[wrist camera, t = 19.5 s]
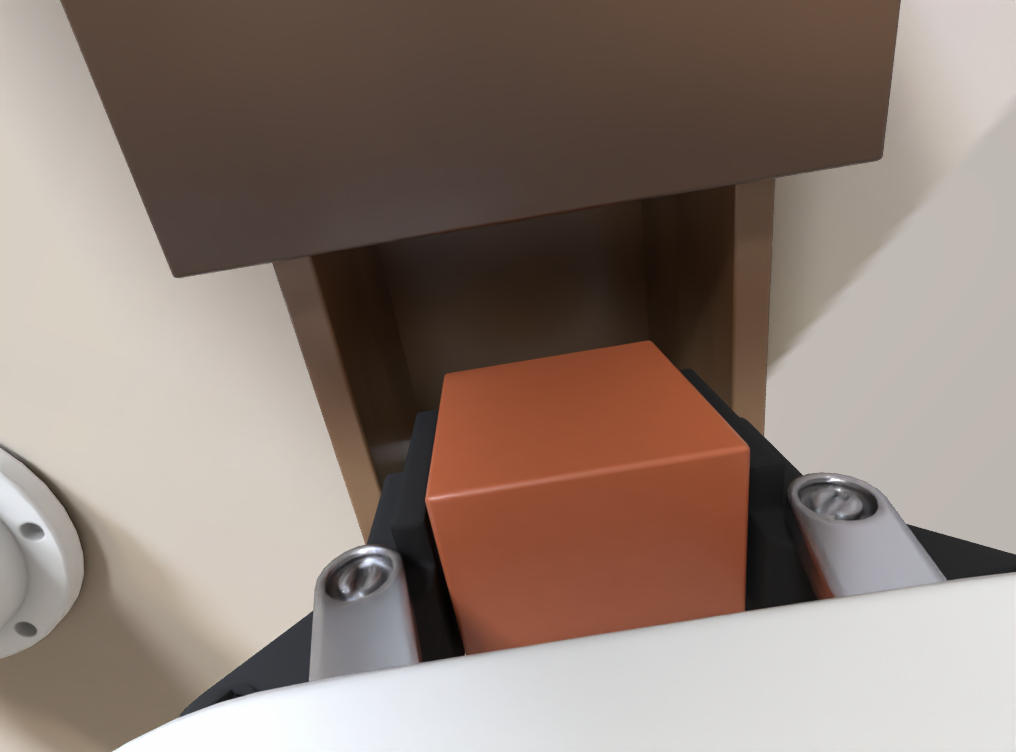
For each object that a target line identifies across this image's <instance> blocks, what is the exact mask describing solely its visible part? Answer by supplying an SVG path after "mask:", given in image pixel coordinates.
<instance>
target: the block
mask: <svg viewBox="0 0 1016 752" xmlns="http://www.w3.org/2000/svg"><path fill="white" fill-rule="evenodd" d="M749 470H750V448H749V446H748V444H747V443H746V442H745V441H744V440H743V439H742V438H741V437H740V436H739V435H738V434H737V433H736V431H735V430H734V429H733V428H732V427H731V426H730V425H729V424H728V423H727V422H726V421H725V420H724V418H723V417H722V416H721V415H720V414H719V413H718V412H717V411H716V410H715V409H714V408H713V407H712V406H711V404H710V403H709V402H708V401H707V400H706V399H705V398H704V397H703V396H702V395H701V394H700V393H699V392H698V390H697V389H696V388H695V387H694V386H693V385H692V384H691V383H690V382H689V381H688V380H687V379H686V378H685V376H684V375H683V374H682V373H681V372H680V371H679V370H678V369H677V368H676V367H675V366H674V365H673V364H672V362H671V361H670V360H669V359H668V358H667V357H666V356H665V355H664V354H663V353H662V352H661V351H660V350H659V348H658V347H657V346H656V345H655V344H654V343H653V342H652V341H649V340H648V341H642V342H636V343H630V344H624V345H618V346H612V347H605V348H599V349H593V350H587V351H581V352H575V353H569V354H563V355H557V356H551V357H544V358H538V359H532V360H526V361H520V362H514V363H508V364H502V365H496V366H490V367H483V368H477V369H471V370H465V371H459V372H453V373H447V374H446V375H445V376H444V381H443V387H442V394H441V400H440V407H439V413H438V420H437V426H436V433H435V439H434V446H433V452H432V459H431V465H430V471H429V478H428V484H427V491H426V497H425V503H426V507H427V511H428V514H429V518H430V522H431V526H432V529H433V533H434V537H435V541H436V545H437V548H438V552H439V556H440V560H441V564H442V567H443V571H444V575H445V579H446V582H447V586H448V590H449V594H450V598H451V601H452V605H453V609H454V613H455V617H456V620H457V624H458V628H459V632H460V635H461V639H462V643H463V647H464V651H465V654H466V655H472V654H478V653H484V652H490V651H497V650H503V649H509V648H515V647H521V646H528V645H534V644H540V643H546V642H553V641H559V640H565V639H572V638H578V637H584V636H591V635H597V634H603V633H610V632H616V631H622V630H629V629H635V628H641V627H648V626H654V625H661V624H667V623H674V622H680V621H686V620H693V619H699V618H706V617H712V616H718V615H725V614H731V613H738V612H744V611H745V598H746V566H747V534H748V502H749Z"/></svg>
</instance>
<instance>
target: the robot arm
mask: <svg viewBox="0 0 1016 752" xmlns="http://www.w3.org/2000/svg"><path fill="white" fill-rule="evenodd" d="M679 371H680V372H681V373H682V374H683V375H684V376H685V378H686V379H687V380H688V381H689V382H690V383H691V384H692V385H693V386H694V387H695V388H696V389H697V390H698V392H699V393H700V394H701V395H702V396H703V397H704V398H705V399H706V400H707V401H708V402H709V403H710V404H711V406H712V407H713V408H714V409H715V410H716V411H717V412H718V413H719V414H720V415H721V416H722V417H723V418H724V420H725V421H726V422H727V423H728V424H729V425H730V426H731V427H732V428H733V429H734V430H735V431H736V433H737V434H738V435H739V436H740V437H741V438H742V439H743V440H744V441H745V442H746V443H747V444H748V446H749V448H750V470H749V502H748V534H747V566H746V598H745V611H744V612H738V613H731V614H725V615H718V616H712V617H706V618H699V619H693V620H686V621H680V622H674V623H667V624H661V625H654V626H648V627H641V628H635V629H629V630H622V631H616V632H610V633H603V634H597V635H591V636H584V637H578V638H572V639H565V640H559V641H553V642H546V643H540V644H534V645H528V646H521V647H515V648H509V649H503V650H497V651H490V652H484V653H478V654H472V655H466V656H465V651H464V647H463V643H462V639H461V635H460V632H459V628H458V624H457V620H456V617H455V613H454V609H453V605H452V601H451V598H450V594H449V590H448V586H447V582H446V579H445V575H444V571H443V567H442V564H441V560H440V556H439V552H438V548H437V545H436V541H435V537H434V533H433V529H432V526H431V522H430V518H429V514H428V511H427V507H426V503H425V497H426V491H427V484H428V478H429V471H430V465H431V459H432V452H433V446H434V439H435V433H436V426H437V420H438V413H439V409H438V410H432V411H426V412H420V413H417V415H416V420H415V424H414V428H413V432H412V436H411V441H410V445H409V449H408V453H407V457H406V462H405V466H404V470H403V472H397V473H391V474H388V475H387V476H386V479H385V482H384V485H383V489H382V492H381V496H380V499H379V503H378V506H377V510H376V513H375V517H374V520H373V524H372V527H371V531H370V534H369V538H368V541H367V545H363V546H358V547H356V548H353V549H351V550H349V551H346V552H344V553H343V554H341V555H340V556H338V557H336V558H335V559H333V560H332V561H331V562H330V563H329V564H328V565H327V566H326V567H325V568H324V569H323V571H322V572H321V574H320V575H319V577H318V579H317V582H316V586H315V593H314V609H313V611H312V612H311V613H310V614H308V615H307V616H306V617H304V618H303V619H302V620H300V621H299V622H298V623H296V624H295V625H294V626H292V627H291V628H290V629H288V630H287V631H286V632H284V633H283V634H282V635H280V636H279V637H278V638H276V639H275V640H274V641H272V642H271V643H270V644H268V645H267V646H266V647H264V648H263V649H262V650H260V651H259V652H258V653H256V654H255V655H254V656H252V657H251V658H250V659H248V660H247V661H246V662H244V663H243V664H242V665H240V666H239V667H238V668H236V669H235V670H234V671H232V672H231V673H230V674H228V675H227V676H226V677H224V678H223V679H222V680H220V681H219V682H218V683H216V684H215V685H214V686H212V687H211V688H210V689H208V690H207V691H206V692H204V693H203V694H202V695H200V696H199V697H198V698H197V699H196V700H195V701H194V702H192V703H191V704H190V705H189V706H188V707H187V708H186V709H185V710H184V711H183V712H182V713H181V715H180V716H179V717H178V718H177V719H174V720H172V721H170V722H168V723H166V724H164V725H162V726H160V727H158V728H156V729H154V730H152V731H150V732H148V733H146V734H144V735H141V736H139V737H137V738H135V739H133V740H131V741H130V742H128V743H126V744H124V745H123V746H121V747H119V748H118V749H116V750H114V751H112V752H1016V555H1015V554H1011V553H1008V552H1004V551H1001V550H997V549H993V548H990V547H986V546H983V545H979V544H976V543H972V542H969V541H965V540H961V539H958V538H954V537H951V536H947V535H944V534H940V533H937V532H933V531H929V530H926V529H922V528H919V527H915V526H912V525H908V524H906V523H905V522H904V521H903V519H902V518H901V517H900V515H899V514H898V512H897V511H896V510H895V508H894V507H893V506H892V504H891V503H890V502H889V500H888V499H887V498H886V497H885V496H884V495H883V494H882V493H881V492H880V491H879V490H878V489H877V488H875V487H873V486H872V485H870V484H868V483H867V482H864V481H862V480H859V479H856V478H854V477H850V476H846V475H841V474H836V473H812V474H806V475H802V474H801V473H800V472H799V471H798V470H797V469H796V468H795V467H794V466H793V465H792V464H791V463H790V462H789V461H788V460H787V459H786V458H785V457H784V456H783V455H782V454H781V453H780V452H779V451H778V450H777V449H776V448H775V447H774V446H773V445H772V444H771V443H770V442H769V441H768V440H767V439H766V438H765V437H764V436H763V435H762V434H761V433H760V432H759V431H758V430H757V429H756V428H755V427H754V426H753V425H752V424H751V423H750V422H749V421H748V420H746V419H745V418H743V417H739V416H738V415H737V414H736V413H735V412H734V411H733V410H732V409H731V408H730V407H729V406H728V405H727V404H726V403H725V402H724V401H723V400H722V399H721V398H720V397H719V396H718V395H717V394H716V393H715V392H714V391H713V390H712V389H711V388H710V387H709V386H708V385H707V384H706V383H705V382H704V381H703V380H702V379H701V378H700V377H699V376H698V375H697V374H696V373H695V372H694V371H693V370H692V369H684V370H679ZM83 577H84V558H83V551H82V548H81V544H80V541H79V537H78V534H77V531H76V529H75V527H74V525H73V524H72V522H71V520H70V518H69V516H68V514H67V512H66V510H65V509H64V507H63V506H62V504H61V503H60V502H59V501H58V499H57V498H56V497H55V496H54V494H53V493H52V492H51V491H50V489H49V488H48V487H47V486H46V484H44V483H43V482H42V481H41V480H40V479H39V478H38V477H37V476H36V475H35V474H34V473H33V472H31V471H30V470H29V469H28V468H27V467H26V466H25V465H24V464H23V463H21V462H20V461H19V460H17V459H16V458H14V457H13V456H11V455H10V454H8V453H7V452H6V451H4V450H3V449H1V448H0V658H4V657H8V656H11V655H13V654H16V653H18V652H20V651H22V650H25V649H27V648H29V647H31V646H33V645H34V644H35V643H37V642H38V641H40V640H41V639H42V638H44V637H45V636H46V635H48V634H49V633H50V632H51V631H52V630H53V629H54V627H55V626H56V625H57V624H58V623H59V622H60V621H61V620H62V619H63V617H64V616H65V615H66V614H67V613H68V612H69V610H70V609H71V607H72V605H73V604H74V602H75V601H76V599H77V597H78V596H79V593H80V589H81V585H82V581H83Z"/></svg>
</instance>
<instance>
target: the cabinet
mask: <svg viewBox="0 0 1016 752" xmlns="http://www.w3.org/2000/svg"><path fill="white" fill-rule="evenodd" d="M60 1H61V3H62V6H63V8H64V11H65V13H66V15H67V18H68V20H69V23H70V25H71V28H72V30H73V33H74V35H75V37H76V40H77V42H78V45H79V47H80V50H81V52H82V55H83V57H84V59H85V62H86V64H87V67H88V69H89V72H90V74H91V76H92V79H93V81H94V84H95V86H96V89H97V91H98V94H99V96H100V98H101V101H102V103H103V106H104V108H105V111H106V113H107V116H108V118H109V120H110V123H111V125H112V128H113V130H114V133H115V135H116V138H117V140H118V142H119V145H120V147H121V150H122V152H123V155H124V157H125V160H126V162H127V164H128V167H129V169H130V172H131V174H132V177H133V179H134V182H135V184H136V186H137V189H138V191H139V194H140V196H141V199H142V201H143V204H144V206H145V208H146V211H147V213H148V216H149V218H150V221H151V223H152V225H153V228H154V230H155V233H156V235H157V238H158V240H159V243H160V245H161V247H162V250H163V252H164V255H165V257H166V260H167V262H168V265H169V267H170V269H171V272H172V274H173V276H174V277H175V278H183V277H189V276H195V275H201V274H207V273H213V272H218V271H224V270H230V269H236V268H242V267H248V266H254V265H260V264H266V263H272V262H278V261H284V260H290V259H296V258H302V257H308V256H314V255H320V254H326V253H332V252H337V251H343V250H349V249H355V248H361V247H367V246H373V245H379V244H385V243H391V242H397V241H403V240H409V239H415V238H421V237H427V236H433V235H439V234H445V233H451V232H457V231H462V230H468V229H474V228H480V227H486V226H492V225H498V224H504V223H510V222H516V221H522V220H528V219H534V218H540V217H546V216H552V215H558V214H564V213H570V212H576V211H582V210H587V209H593V208H599V207H605V206H611V205H617V204H623V203H629V202H635V201H641V200H647V199H653V198H659V197H665V196H671V195H677V194H683V193H689V192H695V191H701V190H706V189H712V188H718V187H724V186H730V185H736V184H742V183H748V182H754V181H760V180H766V179H772V178H778V177H784V176H790V175H796V174H802V173H808V172H814V171H820V170H826V169H831V168H837V167H843V166H849V165H855V164H861V163H867V162H873V161H878V160H880V159H881V158H882V156H883V148H884V139H885V131H886V122H887V114H888V105H889V96H890V88H891V79H892V71H893V62H894V53H895V45H896V36H897V28H898V19H899V10H900V2H901V0H60Z"/></svg>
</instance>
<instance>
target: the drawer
mask: <svg viewBox="0 0 1016 752" xmlns="http://www.w3.org/2000/svg"><path fill="white" fill-rule="evenodd" d="M774 187H775V178H772V179H766V180H760V181H754V182H748V183H742V184H736V185H730V186H724V187H718V188H712V189H706V190H701V191H695V192H689V193H683V194H677V195H671V196H665V197H659V198H653V199H647V200H641V201H635V202H629V203H623V204H617V205H611V206H605V207H599V208H593V209H587V210H582V211H576V212H570V213H564V214H558V215H552V216H546V217H540V218H534V219H528V220H522V221H516V222H510V223H504V224H498V225H492V226H486V227H480V228H474V229H468V230H462V231H457V232H451V233H445V234H439V235H433V236H427V237H421V238H415V239H409V240H403V241H397V242H391V243H385V244H379V245H373V246H367V247H361V248H355V249H349V250H343V251H337V252H332V253H326V254H320V255H314V256H308V257H302V258H296V259H290V260H284V261H278V262H272V264H273V267H274V270H275V273H276V276H277V279H278V282H279V285H280V288H281V291H282V294H283V297H284V300H285V303H286V306H287V309H288V312H289V315H290V318H291V321H292V324H293V327H294V330H295V333H296V336H297V339H298V342H299V345H300V348H301V351H302V354H303V357H304V360H305V363H306V366H307V369H308V372H309V375H310V378H311V381H312V384H313V387H314V391H315V394H316V397H317V400H318V403H319V406H320V409H321V412H322V415H323V418H324V421H325V424H326V427H327V430H328V433H329V436H330V439H331V442H332V445H333V448H334V451H335V454H336V457H337V460H338V463H339V466H340V469H341V472H342V475H343V478H344V481H345V484H346V487H347V490H348V493H349V496H350V499H351V502H352V505H353V508H354V511H355V514H356V517H357V520H358V523H359V526H360V529H361V532H362V535H363V538H364V541H365V544H366V545H367V541H368V538H369V534H370V531H371V527H372V524H373V520H374V517H375V513H376V510H377V506H378V503H379V499H380V496H381V492H382V489H383V485H384V482H385V479H386V476H387V475H388V474H391V473H397V472H403V470H404V466H405V462H406V457H407V453H408V449H409V445H410V441H411V436H412V432H413V428H414V424H415V420H416V415H417V413H420V412H426V411H432V410H438V409H439V407H440V400H441V394H442V387H443V381H444V376H445V375H446V374H447V373H453V372H459V371H465V370H471V369H477V368H483V367H490V366H496V365H502V364H508V363H514V362H520V361H526V360H532V359H538V358H544V357H551V356H557V355H563V354H569V353H575V352H581V351H587V350H593V349H599V348H605V347H612V346H618V345H624V344H630V343H636V342H642V341H648V340H649V341H652V342H653V343H654V344H655V345H656V346H657V347H658V348H659V350H660V351H661V352H662V353H663V354H664V355H665V356H666V357H667V358H668V359H669V360H670V361H671V362H672V364H673V365H674V366H675V367H676V368H677V369H678V370H684V369H692V370H693V371H694V372H695V373H696V374H697V375H698V376H699V377H700V378H701V379H702V380H703V381H704V382H705V383H706V384H707V385H708V386H709V387H710V388H711V389H712V390H713V391H714V392H715V393H716V394H717V395H718V396H719V397H720V398H721V399H722V400H723V401H724V402H725V403H726V404H727V405H728V406H729V407H730V408H731V409H732V410H733V411H734V412H735V413H736V414H737V415H738V416H739V417H743V418H745V419H746V420H748V421H749V422H750V423H751V424H752V425H753V426H754V427H755V428H756V429H757V430H758V431H759V432H760V433H761V434H762V435H763V436H764V423H765V400H766V399H765V397H766V376H767V352H768V329H769V305H770V281H771V258H772V234H773V210H774Z"/></svg>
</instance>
